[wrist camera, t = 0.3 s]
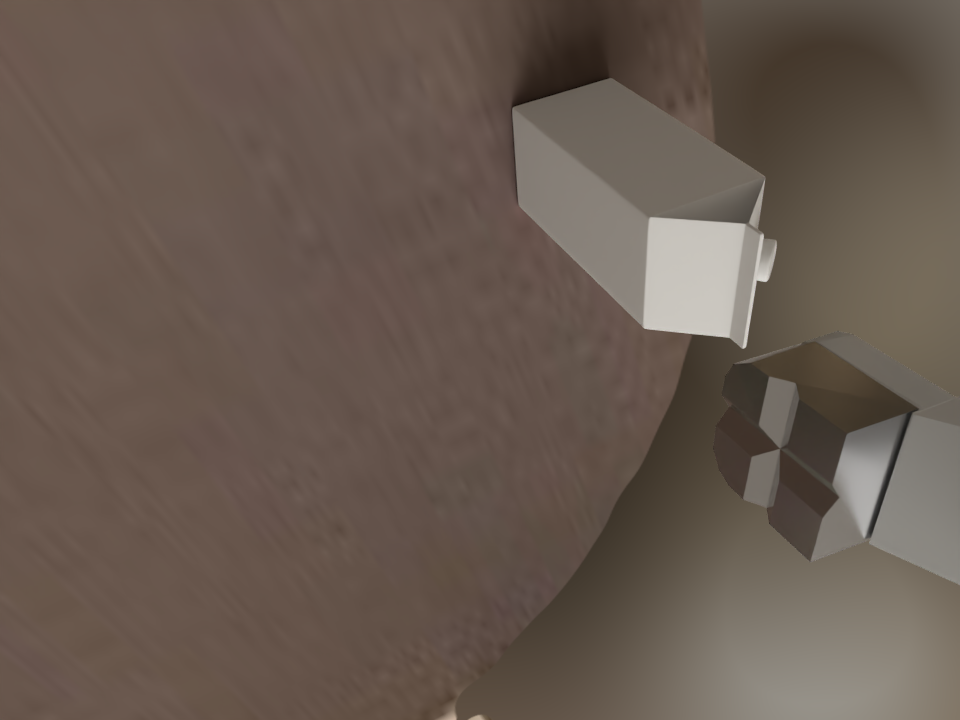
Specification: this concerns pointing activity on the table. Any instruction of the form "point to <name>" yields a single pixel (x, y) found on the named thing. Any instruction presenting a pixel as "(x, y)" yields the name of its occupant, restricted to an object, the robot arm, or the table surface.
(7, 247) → the table surface
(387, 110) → the table surface
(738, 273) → the milk carton
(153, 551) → the table surface
